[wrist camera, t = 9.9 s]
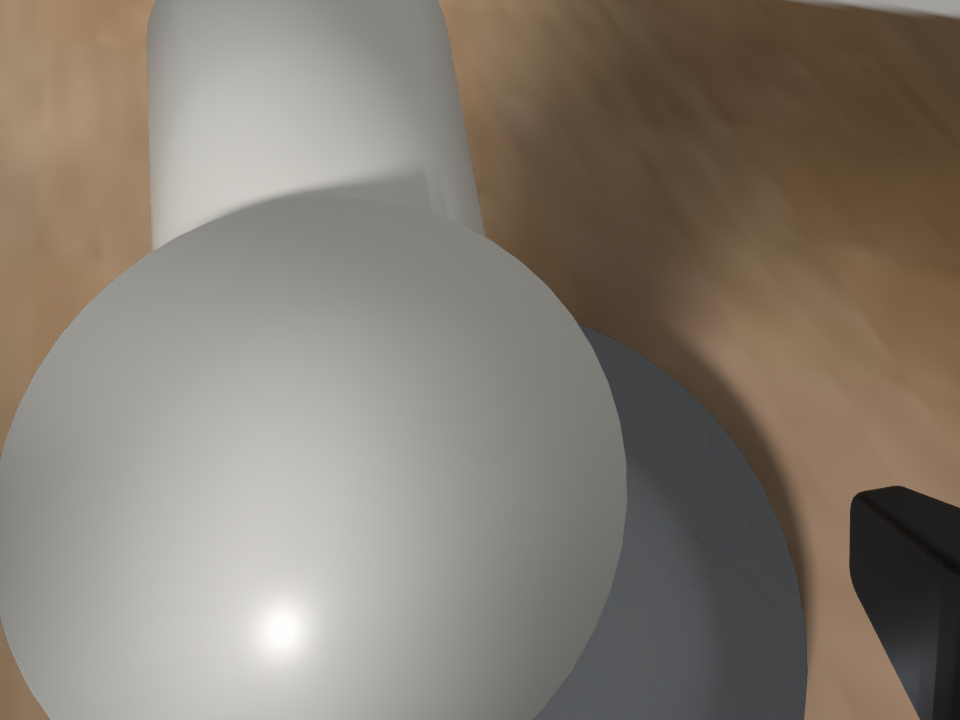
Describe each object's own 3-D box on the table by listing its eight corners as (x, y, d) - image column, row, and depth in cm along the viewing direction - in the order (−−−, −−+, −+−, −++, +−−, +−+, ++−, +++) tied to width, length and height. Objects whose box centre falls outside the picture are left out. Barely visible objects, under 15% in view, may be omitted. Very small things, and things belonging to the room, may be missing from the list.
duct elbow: (579, 724, 17) (698, 763, 5) (351, 764, 17) (-26, 889, 5) (513, 368, 20) (496, -121, 8) (316, 400, 20) (14, -44, 8)
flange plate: (894, 505, 19) (916, 492, 18) (590, 1202, 15) (595, 1240, 14) (360, 230, 23) (351, 205, 21) (-10, 750, 18) (-44, 753, 17)
